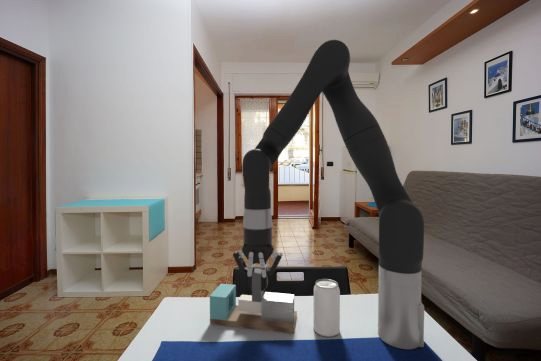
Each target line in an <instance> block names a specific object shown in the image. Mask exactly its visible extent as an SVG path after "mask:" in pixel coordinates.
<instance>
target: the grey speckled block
mask: <svg viewBox="0 0 541 361" xmlns="http://www.w3.org/2000/svg"><path fill="white" fill-rule="evenodd" d="M294 311H295V294H291V293H282V292H271V291H264V296H263V298H262V300H261V321H271V322H280V323H290V324H292V323H293V318H294Z"/></svg>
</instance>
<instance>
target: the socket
mask: <svg viewBox="0 0 541 361" xmlns="http://www.w3.org/2000/svg"><path fill="white" fill-rule="evenodd" d="M236 305H237V285H236V284H232V283H231V284H230V283H220V284H219V285H218V286H217V287H216V289H215V290H214V291H213V292H212V293H211V294H210V295H209V320H210V319H219V320H227V318H228V317H229V315H230V314H231V312H232V311H233V309H234V308H235V306H236Z"/></svg>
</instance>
